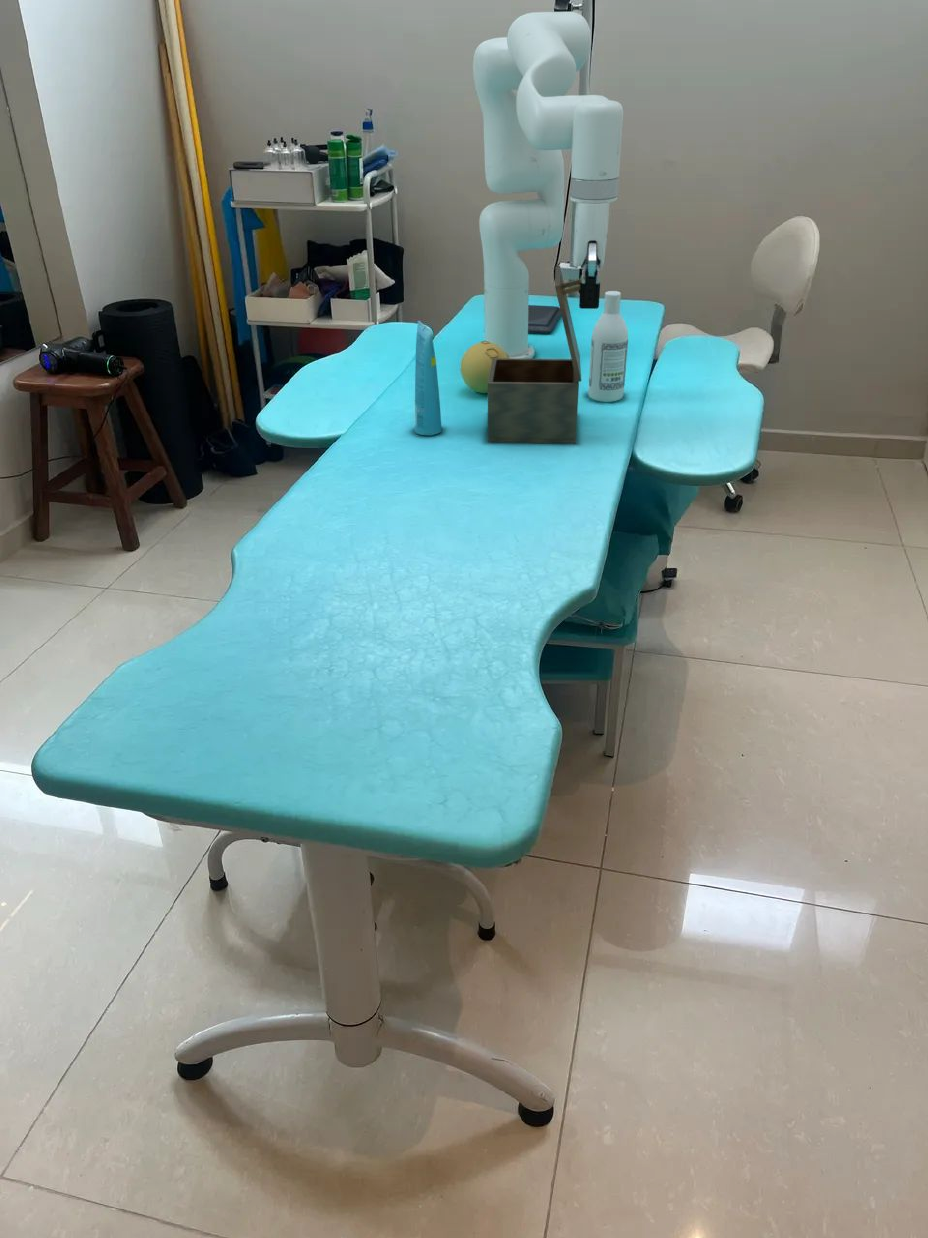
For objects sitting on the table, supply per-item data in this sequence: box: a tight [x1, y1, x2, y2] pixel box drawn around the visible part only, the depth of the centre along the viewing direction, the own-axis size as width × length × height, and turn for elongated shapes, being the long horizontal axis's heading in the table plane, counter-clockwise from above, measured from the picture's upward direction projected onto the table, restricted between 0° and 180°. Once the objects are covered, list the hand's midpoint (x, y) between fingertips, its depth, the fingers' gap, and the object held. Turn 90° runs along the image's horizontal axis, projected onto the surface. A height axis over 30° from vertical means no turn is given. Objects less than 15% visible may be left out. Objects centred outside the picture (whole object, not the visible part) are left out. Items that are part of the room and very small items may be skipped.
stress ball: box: [460, 340, 509, 394], centre depth 182 cm, size 10×10×10 cm
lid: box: [554, 264, 582, 383], centre depth 157 cm, size 16×14×6 cm
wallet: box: [528, 304, 562, 335], centre depth 225 cm, size 20×2×15 cm
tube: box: [414, 319, 442, 436], centre depth 163 cm, size 7×5×19 cm, turn 26°
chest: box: [487, 358, 580, 445], centre depth 165 cm, size 16×14×11 cm
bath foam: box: [587, 290, 629, 403], centre depth 176 cm, size 7×7×20 cm
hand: (588, 300), depth 155 cm, fingers open, 9 cm apart
